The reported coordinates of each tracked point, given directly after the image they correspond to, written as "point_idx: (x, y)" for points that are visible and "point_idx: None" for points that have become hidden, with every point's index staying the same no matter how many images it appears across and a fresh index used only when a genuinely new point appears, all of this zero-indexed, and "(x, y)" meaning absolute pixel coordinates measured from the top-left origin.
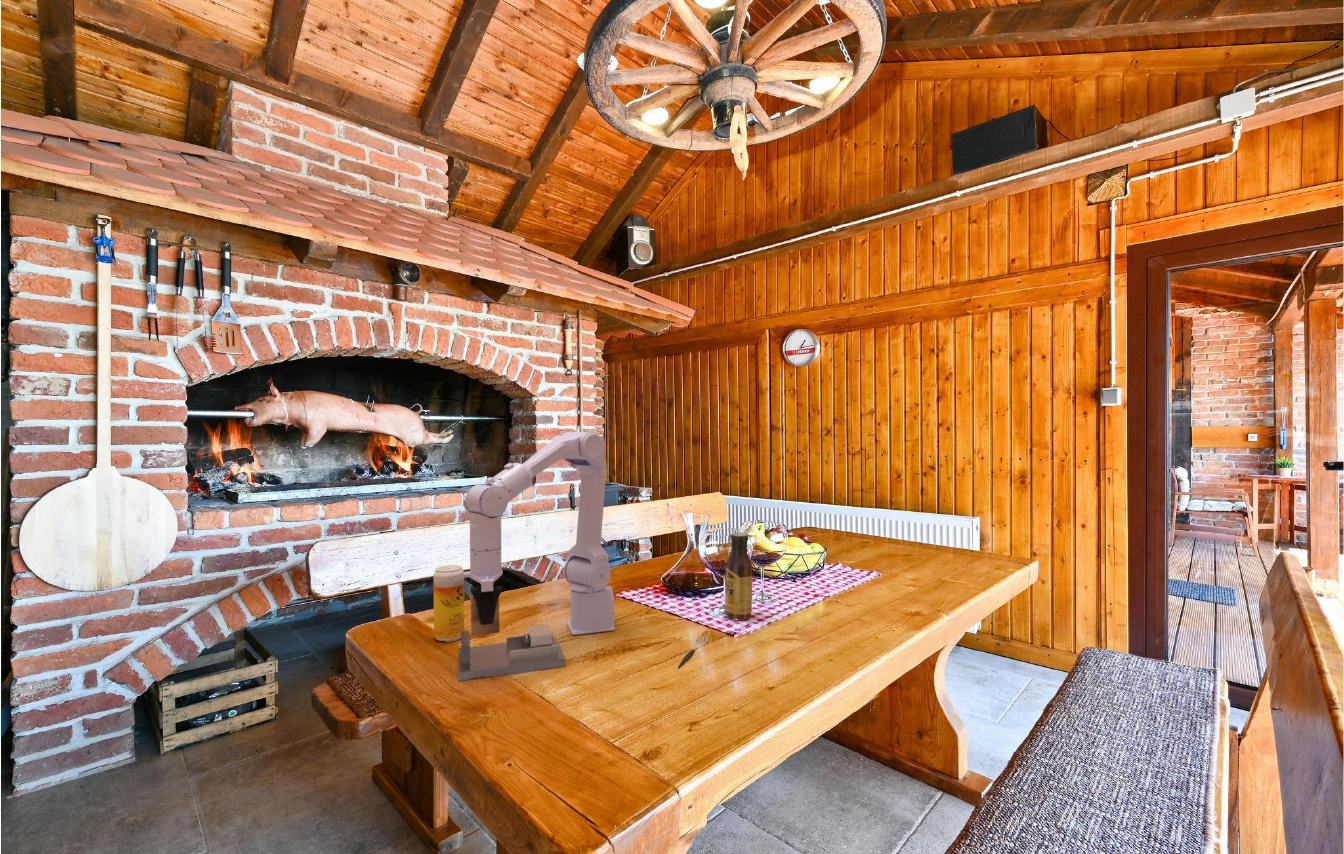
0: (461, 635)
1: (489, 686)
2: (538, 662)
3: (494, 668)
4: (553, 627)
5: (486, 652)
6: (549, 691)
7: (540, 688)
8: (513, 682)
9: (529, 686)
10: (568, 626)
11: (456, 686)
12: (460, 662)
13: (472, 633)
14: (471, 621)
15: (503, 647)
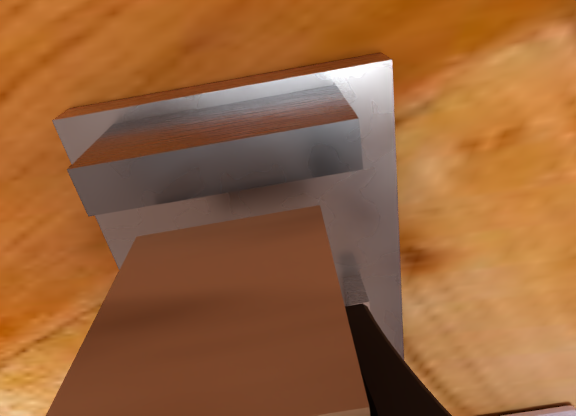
0: (272, 134)
1: (30, 237)
2: None
3: (116, 260)
4: (562, 370)
5: (299, 206)
6: (15, 395)
7: (33, 375)
8: (72, 305)
9: (44, 349)
10: (530, 413)
11: (13, 110)
12: (186, 106)
13: (135, 250)
14: (103, 305)
15: (343, 265)
